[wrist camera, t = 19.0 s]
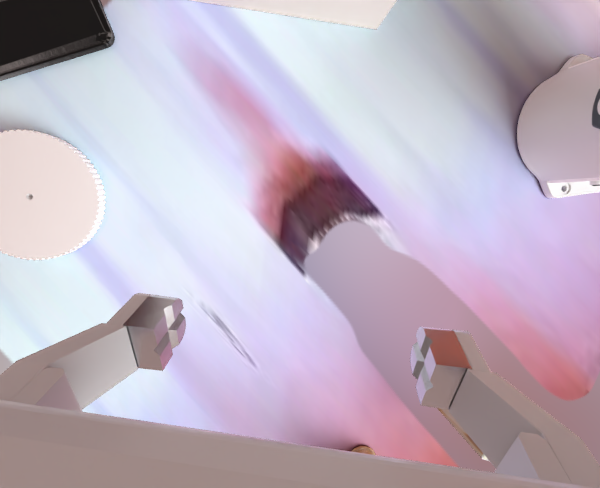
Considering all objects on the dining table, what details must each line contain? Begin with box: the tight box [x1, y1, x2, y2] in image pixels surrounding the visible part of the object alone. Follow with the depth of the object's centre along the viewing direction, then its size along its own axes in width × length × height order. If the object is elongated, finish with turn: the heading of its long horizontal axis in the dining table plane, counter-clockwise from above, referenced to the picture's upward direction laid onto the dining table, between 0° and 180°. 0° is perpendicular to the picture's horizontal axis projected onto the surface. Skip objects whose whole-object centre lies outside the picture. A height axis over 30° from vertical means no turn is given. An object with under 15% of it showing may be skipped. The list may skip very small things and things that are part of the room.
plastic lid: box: [0, 129, 106, 260], centre depth 34 cm, size 14×14×2 cm
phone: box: [0, 0, 115, 81], centre depth 33 cm, size 8×1×15 cm
